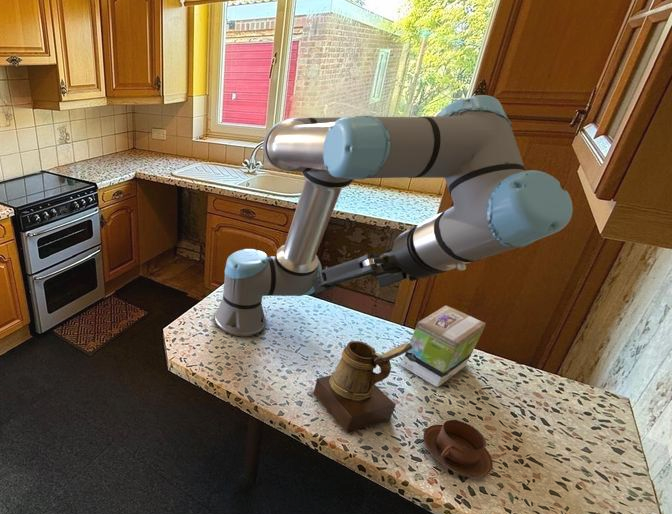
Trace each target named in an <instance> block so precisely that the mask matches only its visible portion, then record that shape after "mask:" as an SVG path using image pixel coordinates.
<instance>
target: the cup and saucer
mask: <svg viewBox="0 0 672 514" xmlns="http://www.w3.org/2000/svg"><path fill="white" fill-rule="evenodd" d="M423 442H424V445H425V447H426V449H427V451H428V452H429V453H430V455H431V456H432V457H433V458H434V459H435V460H436V461H437V462H439V463H440V464H441V465H443V466H444V467H446V468H447V469H449V470H451V471H453V472H454V473H457V474H460V475H463V476H467V477H472V478H481V477H485V476H486V475H488V474H490V473H491V472H492V471H493V468H494V462H493V458H492V455H491V454H490V452H489V450H488V449H487V448H486V447H487V440H486V438H485V436H484V434H482V432H480V431H479V430H478V429H477V428H476V427H474V426H473V425H471V424H470V423H466V422H465V421H462V420H458V419H447V420H446V421H445V422H443V423H442V424H432V425H430V426H428V427H427V428H426V429H425V430H424V432H423Z"/></svg>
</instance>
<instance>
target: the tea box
mask: <svg viewBox="0 0 672 514" xmlns="http://www.w3.org/2000/svg"><path fill="white" fill-rule="evenodd" d="M485 328H486V322H484V321H482V320H479V319H477V318H475V317H473V316H471V315H468V314H466V313H464V312H462V311H460V310H458V309H456V308H453V307H451V306H449V305H444V306H442V307H441V308H439V309H438V310H436V311H434V312H432V313H431V314H429V315H428V316H426V317H424V318H423V319H421V320H419V321H418V322H417V323H416V326H415V329H414V330H413V334H412V336H411V338H410V341H409V343H410V344H411V345H412V349H410V350H409V351H407V352H406V353H404V355H403V358H402V361H401V363H400V366H401V367H403V368H405V369H406V370H407V371H409V372H411V373H412V374H415V375H416V376H417V377H419V378H421V379H423V380H424V381H426V382H428V384H431V385H433V386H434V387H436V388H438V387H440V386H441V385H443V384H444V383H445V382H447V381H448V380H450V379H451V378H452V377H453V376H454V375H456V374H457V373H459V372H460V371H461V370H463V369H464V368H465V367H466V366H467V364H468V362H469V361H470V357H471V356H472V354H473V352H474V350H475V348H476V345H477V344H478V342H479V339H480V338H481V335H482V334H483V332H484V330H485Z"/></svg>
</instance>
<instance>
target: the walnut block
mask: <svg viewBox="0 0 672 514" xmlns="http://www.w3.org/2000/svg"><path fill="white" fill-rule="evenodd" d="M331 376H332V374H330V375H326V376H321V377H318V378H316V381H315V386H314V389H313V395H314V396H315V397H316V398H317V400H318V401H319V402H320V403H321V404H322V405H323V407H324V408H325V409H326V410H327V411H328V413H329V414H330V415H331V416H332V417H333V418H334V419H335V421H336V422H337V423H338V424H339V426H340V427H341V428H342V429H343V430H344V431H345V433H351V432H354V431H357V430H361V429H364V428H368V427H371V426H374V425H379V424H382V423H385V422H388V421H390V420H391V419H392V416H393V414H394V411H395V408H396V406H397V404H396V403H395V402H394V401H393V400H392V399H391V398H390V397H389V396H388V395H387V394H385V392H383V391H382V390H381V389H380V388H379V387H378V386H377V385H376V384H374V385H373V391H372V395H371V396H370V397H369V398H367V399H365V400H361V401H357V400H351V399H348V398H345V397H343V396H341V395H339V394H338V393H336V392H335V391H334V390H333V389H332V387H331V385H330V378H331Z"/></svg>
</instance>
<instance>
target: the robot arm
mask: <svg viewBox="0 0 672 514" xmlns="http://www.w3.org/2000/svg"><path fill="white" fill-rule="evenodd" d="M262 150H263V151H262V152H263V155H264V157H265V159H266V160H267V162H268V163H269V164H270V165H271V166H273V167H274V168H277V169H278V170H283V171H286V172H298V173H299V172H300V173H301V175H302V177H303V178H304V182H303V186H302V188H301V192H300V195H299V199H298V201H297V204H296V208H295V211H294V214H293V217H292V221H291V224H290V227H289V231H288V233H287V236H286V240H285V243H284V244H283V245H281V246H280V247H279V248H278V249H277V251H276V254H275V255H274V256H268V254H267V253H265V252H264V251H263V250H259V249H258V250H257V249H256V248H255V249H254V248H243V249H240V250H237V251H236V250H235V251H234V252H233V253H231V254H230V255H229V256H228V257H227V259H226V263H225V268H224V281H223V293H222V299H221V301H220V303H219V305H218V307H217V309H216V311H215V315H214V320H215V324H216V326H217V327H218V328H219V329H220V330H221V331H223V332H224V333H226V334H229V335H232V336H235V337H251V336H256V335H258V334H260V333H261V332H262V331H263V330H264V328H265V325H266V318H267V313H268V312H266V313H265V312H264V307H263V297H301V296H309V295H312V294H315V295H319V294H323V293H325V292H327V291H329V290H331V289H334V288H335V287H338V286H339V284H344V283H347V282H351V281H355V280H359V279H363V278H368V277H373V278H376V279H377V283H378V286H379V288H385V287H388V286H390V285H392V284H395V283H399V282H401V281H404V280H407V279H409V281H410V282H414V281H417V280H418V279H429V278H431V277H435V276H437V275H440V274H443V273H446V272H448V271H451V270H454V269H457V270H458V271H460V272H462V271H465V270H466V269H467V265H468V264H471V263H475V262H477V261H480V260H483V259H486V258H489V257H493V256H496V255H499V254H502V253H505V252H508V251H511V250H514V249H518V248H525V247H527V246H528V245H531V244H533V243H534V242H536V241H539V240H541V239H544V238H547V237H549V236H552V235H554V234H557V233H558V232H560V231H561V230H563V229H564V228H565V227H566V226H567V225H568V224H569V223H570V221H571V219H572V216H573V210H574V209H573V201H572V197H571V196H570V193H569V192H568V191H567V190H565V189H563V188H562V186H561V182H560V181H559V180H558V178H555V177H554V176H552V175H551V174H549V173H547V172H544V171H541V170H536V169H531V170H530V169H529V170H526V167H525V164H524V162H523V159H522V156H521V152H520V149H519V147H518V144H517V140H516V138H515V135H514V132H513V124H512V122H511V120H510V119H509V117H508V116H507V114H506V112H505V110H504V108H503V105H502V102H500V101H499V100H498V99H497V98H496V97H494V96H491V95H487V94H480V95H479V94H477V95H472V96H470V97H468V98H466V99H465V98H461V99H457V100H455V101H453V102H451V103H449V104H447V105H446V106H443V108H442V109H440V110H438V112H437V113H436V114H435V115H434V116H433V115H432V116H431V115H430V116H373V115H357V116H356V115H355V116H347V115H346V116H342V117H341V116H333V117H331V116H329V117H327V116H326V117H322V116H321V117H316V116H315V117H312V116H311V117H307V116H300V117H292V118H287V119H284V120H281V121H279V122H277V123H275V124H274V125H273V126H271V127H270V129H269V130H268V131H267V133H266V134H265V136H264V138H263V142H262ZM396 178H397V179H399V178H401V179H403V178H406V179H407V178H408V179H417V178H421V179H422V178H423V179H424V178H426V179H431V178H432V179H433V178H434V179H435V178H436V179H437V178H438V179H439V178H440V179H441V178H442V179H444V180H445V183H446V187H447V189H448V192H449V195H450V197H451V200H452V202H453V206H450V207H449V208H448V209H446V210H444V211H442V212H440V213H437V214H436V215H434V216H432V217H430V218H427V219H426V220H423V221H422V222H420V223H419V224H417V225H415V226H412V227H411V228H409V229H407V230H405V231H404V232H402V233H400V234H399V235H397V237H396V238H395V239H394V242H393V245H392V248H389V249H386V250H384V251H382V252H381V253H377V254H374V253H373V252H369V253H367V254H364V255H363V256H360V257H357V258H354V259H351V260H349V261H346V262H343V263H340V264H337V265H333V266H325V267H324V268H325V269H323V268H322V264H321V261H320V260H319V257H318V255H317V254H318V250H319V248H320V245H321V243H322V240H323V238H324V235H325V232H326V230H327V228H328V225H329V222H330V220H331V217H332V215H333V212H334V210H335V207H336V205H337V202H338V199H339V197H340V195H341V192H342V189H344V188H347V187H349V186H351V184H352V182H353V180H366V179H396ZM466 264H467V265H466ZM379 269H380V271H379V272H378V270H379Z"/></svg>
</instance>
